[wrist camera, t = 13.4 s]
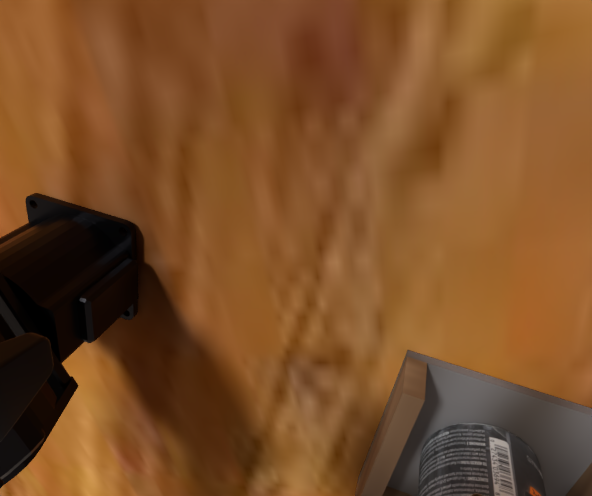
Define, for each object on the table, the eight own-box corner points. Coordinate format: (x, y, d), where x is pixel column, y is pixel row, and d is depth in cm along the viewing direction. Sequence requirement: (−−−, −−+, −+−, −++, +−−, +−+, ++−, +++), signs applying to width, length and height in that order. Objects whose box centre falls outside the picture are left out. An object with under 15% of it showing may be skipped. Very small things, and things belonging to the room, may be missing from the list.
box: (358, 478, 29) (349, 524, 26) (407, 350, 23) (402, 393, 21) (539, 546, 27) (549, 602, 25) (640, 424, 21) (666, 481, 19)
